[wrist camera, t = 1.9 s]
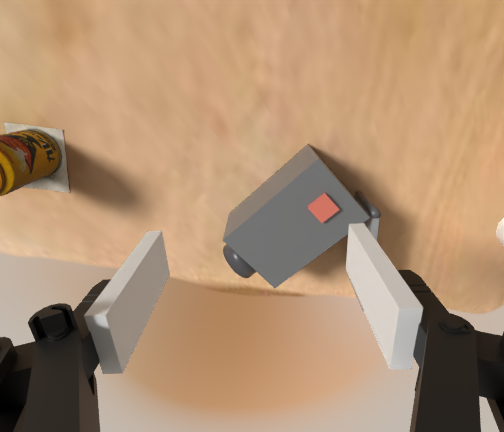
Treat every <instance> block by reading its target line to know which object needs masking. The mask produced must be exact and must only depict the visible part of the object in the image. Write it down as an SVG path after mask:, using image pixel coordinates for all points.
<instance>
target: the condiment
mask: <svg viewBox="0 0 504 432" xmlns="http://www.w3.org/2000/svg"><path fill="white" fill-rule="evenodd" d="M4 125H5V130H6V134H2V135H0V196H2V195H5V194H8V193H10V192H12V191H14V190H17V189H19V188H21V187H26V188H37V189H45V190H47V189H48V190H53V191H61V192H68V193H70V190H69V181H68V173H67V162H66V153H65V143H64V135H63V131H62V130H61V129H53V128H46V127H38V126H30V125H22V124H13V123H5V122H4ZM54 173H55V175H53V174H54ZM52 175H53V177H51V176H52Z"/></svg>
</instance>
